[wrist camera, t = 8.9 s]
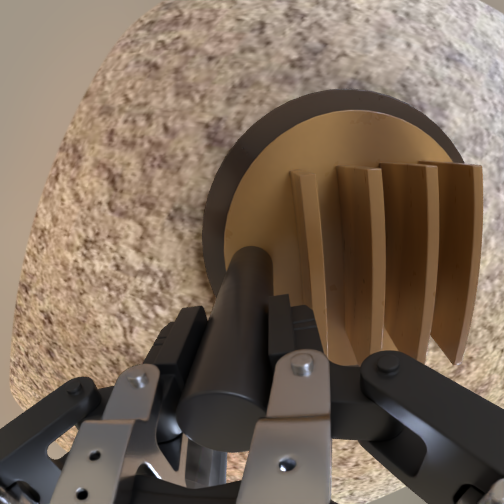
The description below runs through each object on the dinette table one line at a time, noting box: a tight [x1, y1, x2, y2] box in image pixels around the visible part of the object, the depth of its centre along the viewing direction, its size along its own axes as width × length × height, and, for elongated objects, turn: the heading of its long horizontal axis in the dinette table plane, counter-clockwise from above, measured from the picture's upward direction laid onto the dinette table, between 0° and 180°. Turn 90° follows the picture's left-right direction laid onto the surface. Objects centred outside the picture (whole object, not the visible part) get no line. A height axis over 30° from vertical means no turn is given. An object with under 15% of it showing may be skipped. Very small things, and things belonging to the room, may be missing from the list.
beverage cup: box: [185, 438, 227, 489], centre depth 15 cm, size 7×7×20 cm
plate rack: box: [176, 110, 483, 453], centre depth 12 cm, size 16×16×12 cm
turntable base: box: [202, 89, 464, 367], centre depth 19 cm, size 19×19×2 cm
